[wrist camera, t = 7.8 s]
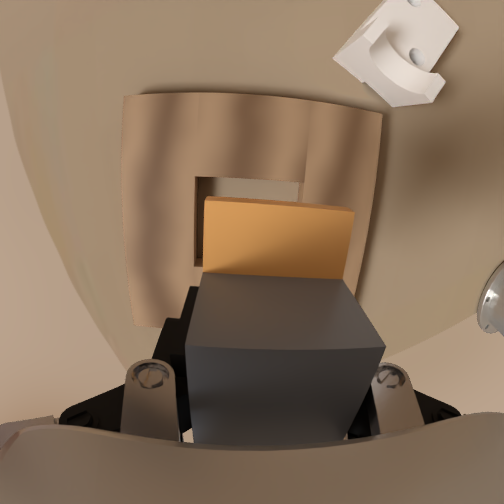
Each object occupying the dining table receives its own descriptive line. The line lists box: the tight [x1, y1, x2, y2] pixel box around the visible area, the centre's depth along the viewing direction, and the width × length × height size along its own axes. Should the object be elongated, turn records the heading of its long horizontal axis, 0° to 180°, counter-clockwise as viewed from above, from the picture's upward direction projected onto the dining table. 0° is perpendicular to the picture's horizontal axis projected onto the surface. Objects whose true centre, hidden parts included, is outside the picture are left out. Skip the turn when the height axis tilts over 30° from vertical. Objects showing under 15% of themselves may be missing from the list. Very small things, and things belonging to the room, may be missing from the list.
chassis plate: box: [121, 93, 382, 328], centre depth 26 cm, size 22×22×2 cm
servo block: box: [185, 196, 386, 446], centre depth 9 cm, size 4×10×6 cm, turn 176°
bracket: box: [332, 0, 459, 107], centre depth 18 cm, size 13×7×8 cm, turn 144°
